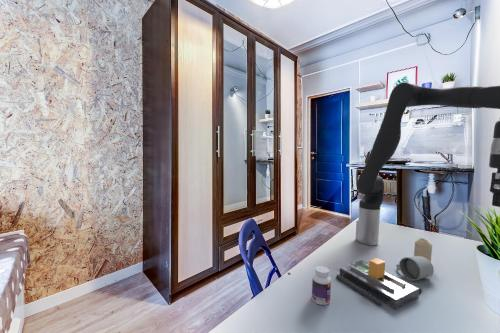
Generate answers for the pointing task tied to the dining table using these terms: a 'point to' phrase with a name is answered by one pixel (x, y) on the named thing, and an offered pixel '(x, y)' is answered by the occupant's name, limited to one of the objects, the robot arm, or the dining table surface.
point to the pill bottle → (321, 285)
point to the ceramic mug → (415, 267)
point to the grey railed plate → (364, 291)
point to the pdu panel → (380, 285)
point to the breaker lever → (376, 268)
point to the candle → (423, 249)
